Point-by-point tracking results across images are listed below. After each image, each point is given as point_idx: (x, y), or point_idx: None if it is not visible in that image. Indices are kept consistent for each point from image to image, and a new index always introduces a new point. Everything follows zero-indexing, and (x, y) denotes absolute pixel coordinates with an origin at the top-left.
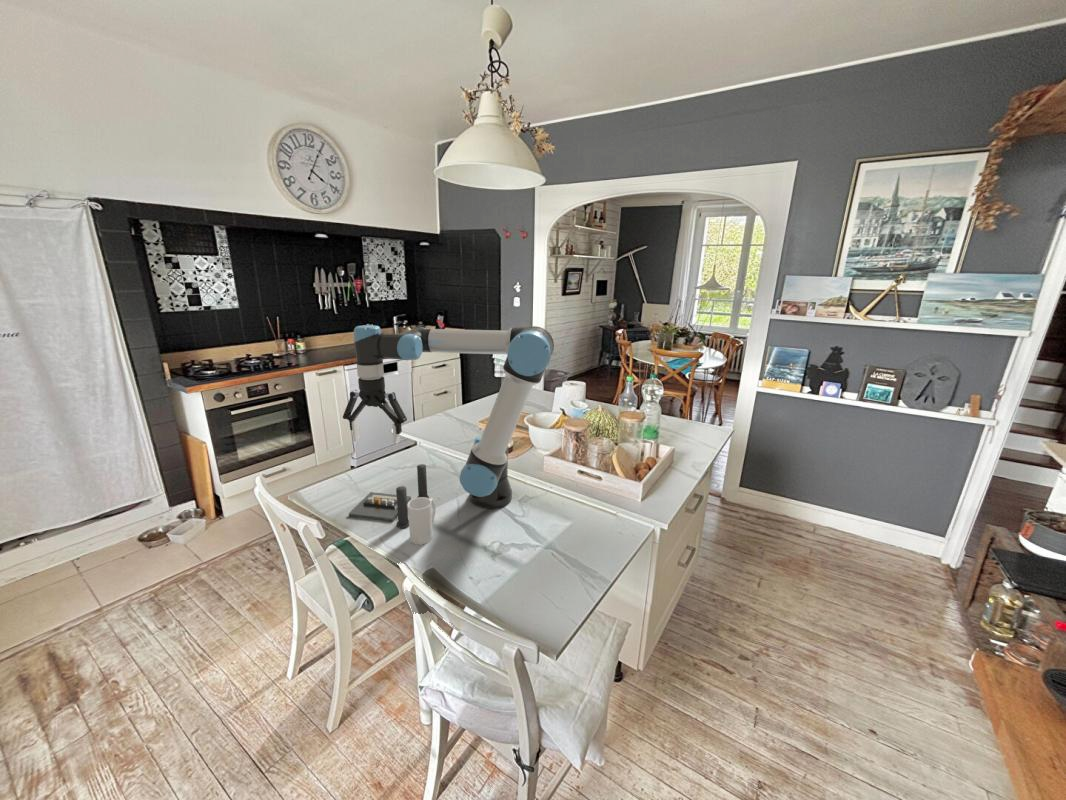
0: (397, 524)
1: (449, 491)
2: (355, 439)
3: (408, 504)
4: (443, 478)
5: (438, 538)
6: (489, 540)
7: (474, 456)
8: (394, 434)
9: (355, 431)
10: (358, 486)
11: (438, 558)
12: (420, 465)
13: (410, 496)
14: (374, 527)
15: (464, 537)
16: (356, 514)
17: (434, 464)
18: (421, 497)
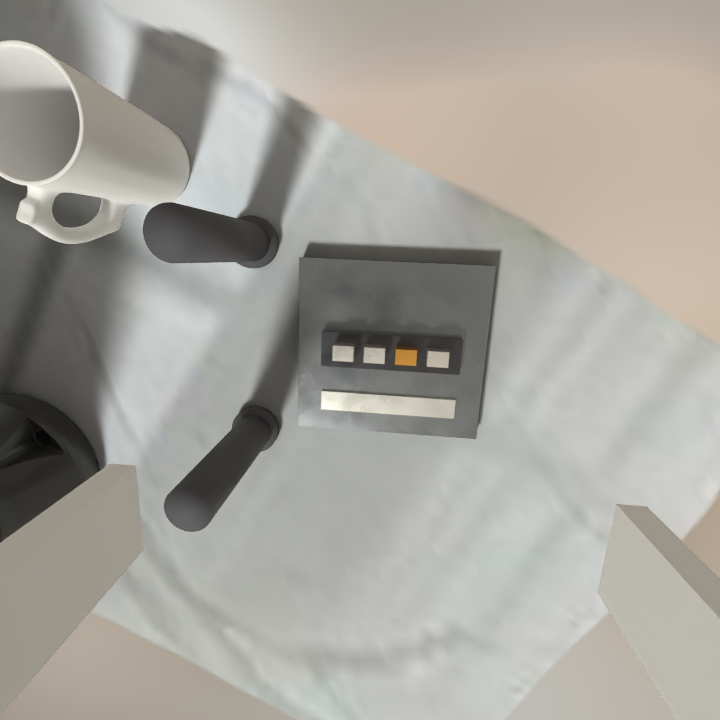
0: (267, 225)
1: None
2: (631, 519)
3: (76, 96)
4: (243, 579)
5: None
6: None
7: None
8: (15, 544)
9: (700, 620)
10: (554, 492)
11: None
12: (197, 516)
13: (299, 424)
14: (356, 207)
15: (11, 199)
16: (459, 264)
17: (318, 676)
18: (41, 181)
